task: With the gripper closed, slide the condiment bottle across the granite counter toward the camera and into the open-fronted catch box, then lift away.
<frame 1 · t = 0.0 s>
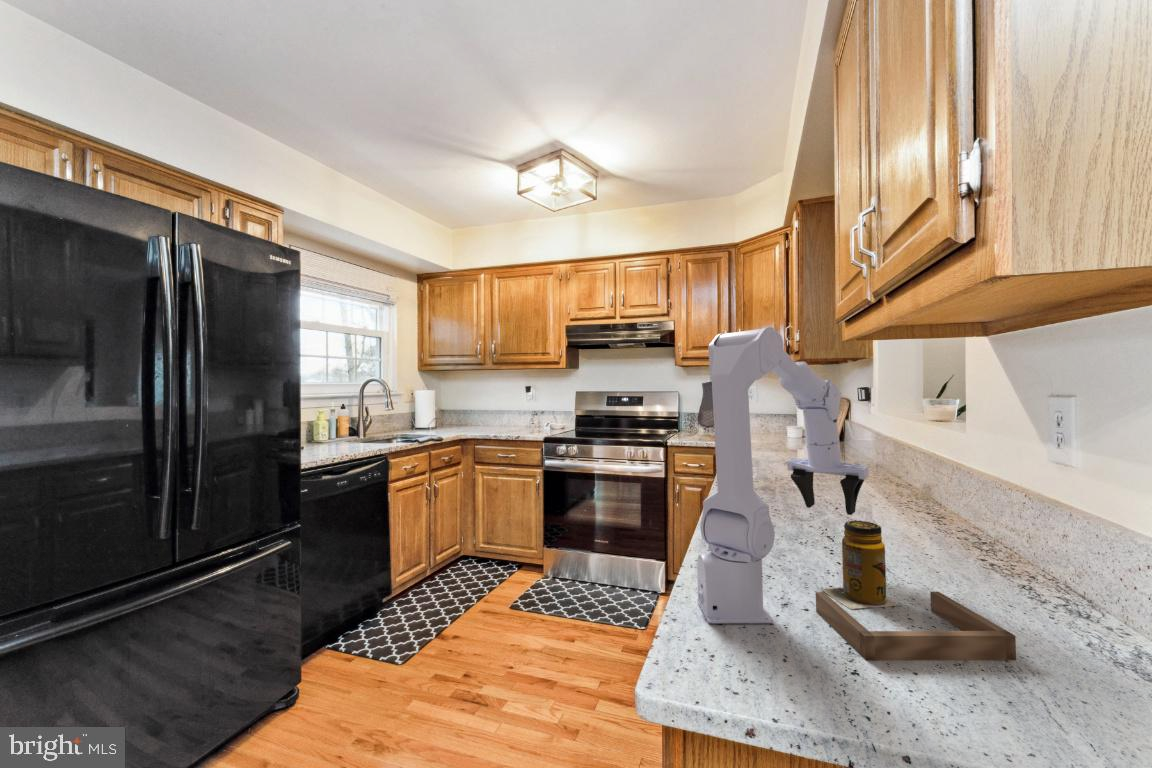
hand: (830, 509, 93), 11 cm above the counter, tool pointing down, fingers open, 7 cm apart
catch box: (905, 633, 66), on the counter
condiment: (859, 599, 78), on the counter
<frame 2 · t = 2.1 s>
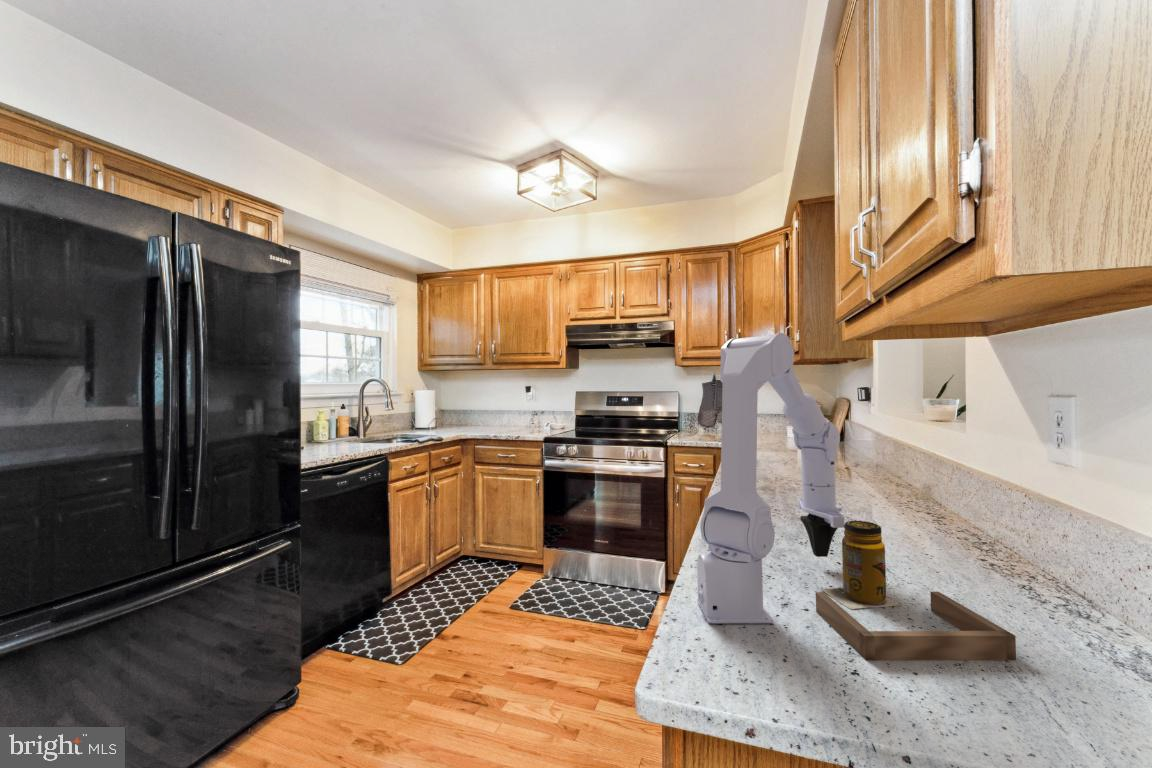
hand: (820, 555, 91), 2 cm above the counter, tool pointing down, fingers closed
nothing on the counter moved.
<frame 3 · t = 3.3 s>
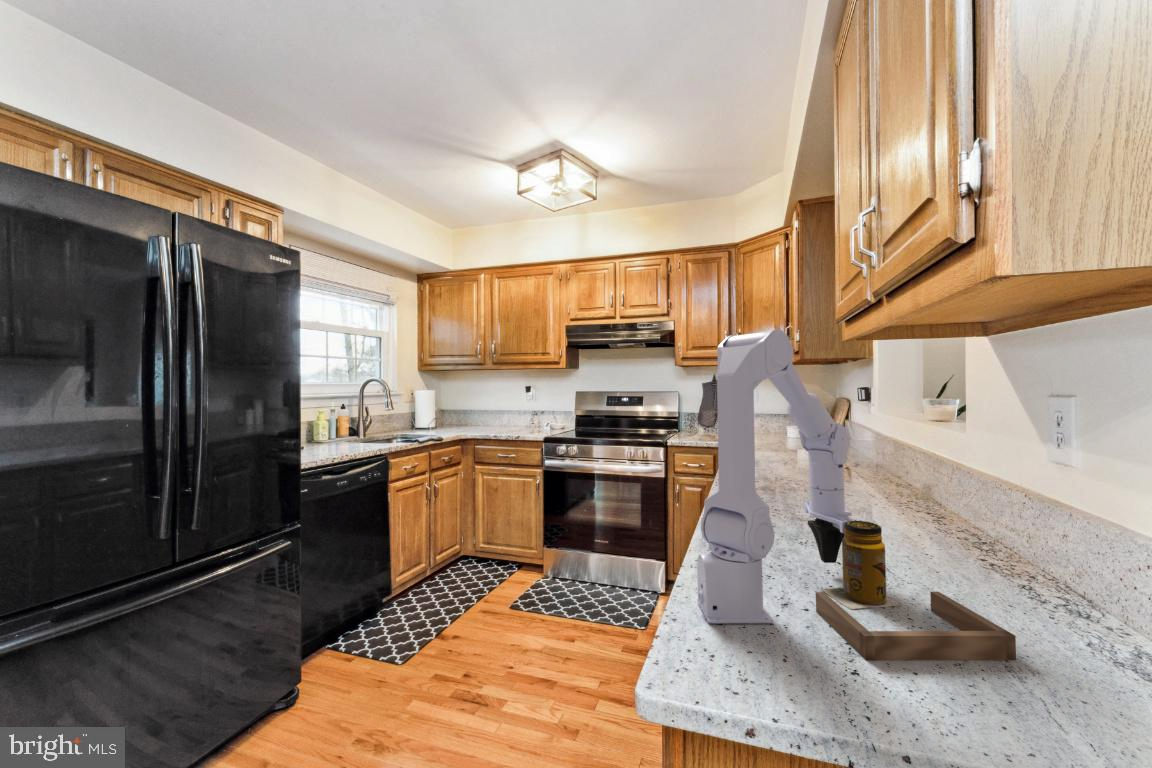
hand: (828, 561, 88), 2 cm above the counter, tool pointing down, fingers closed
nothing on the counter moved.
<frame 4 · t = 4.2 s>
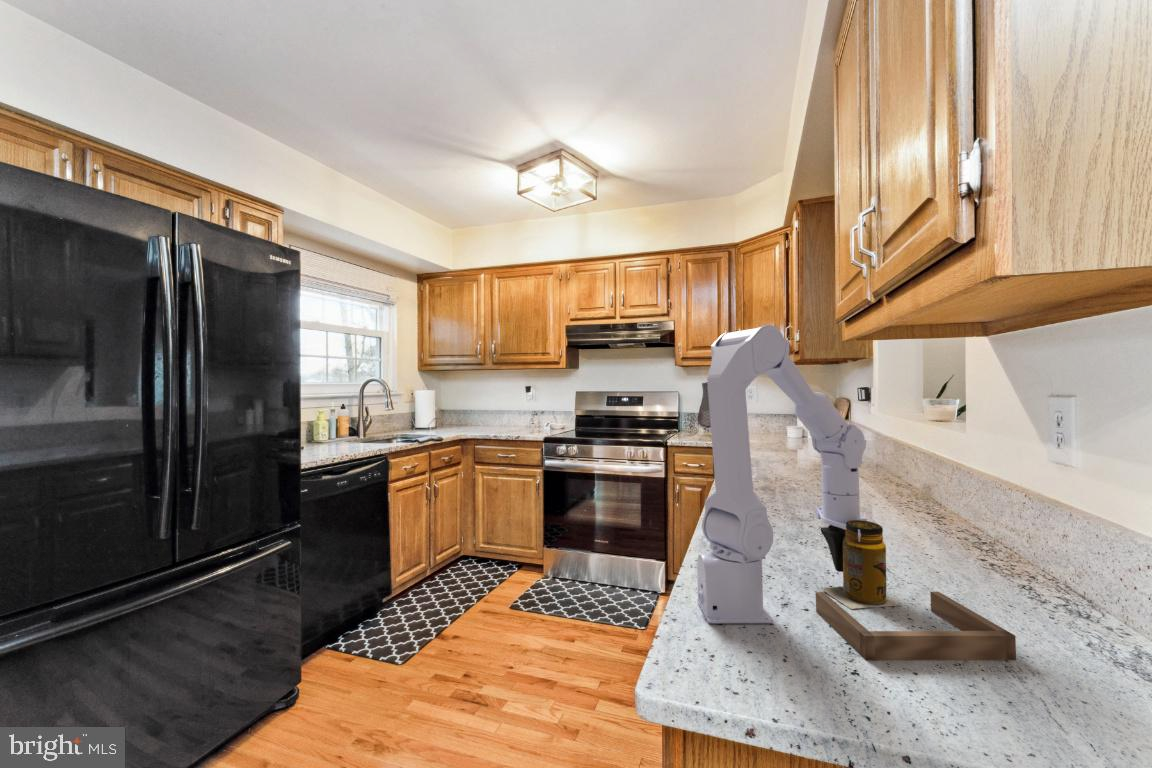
hand: (842, 570, 83), 2 cm above the counter, tool pointing down, fingers closed
condiment: (859, 598, 78), on the counter, touching gripper
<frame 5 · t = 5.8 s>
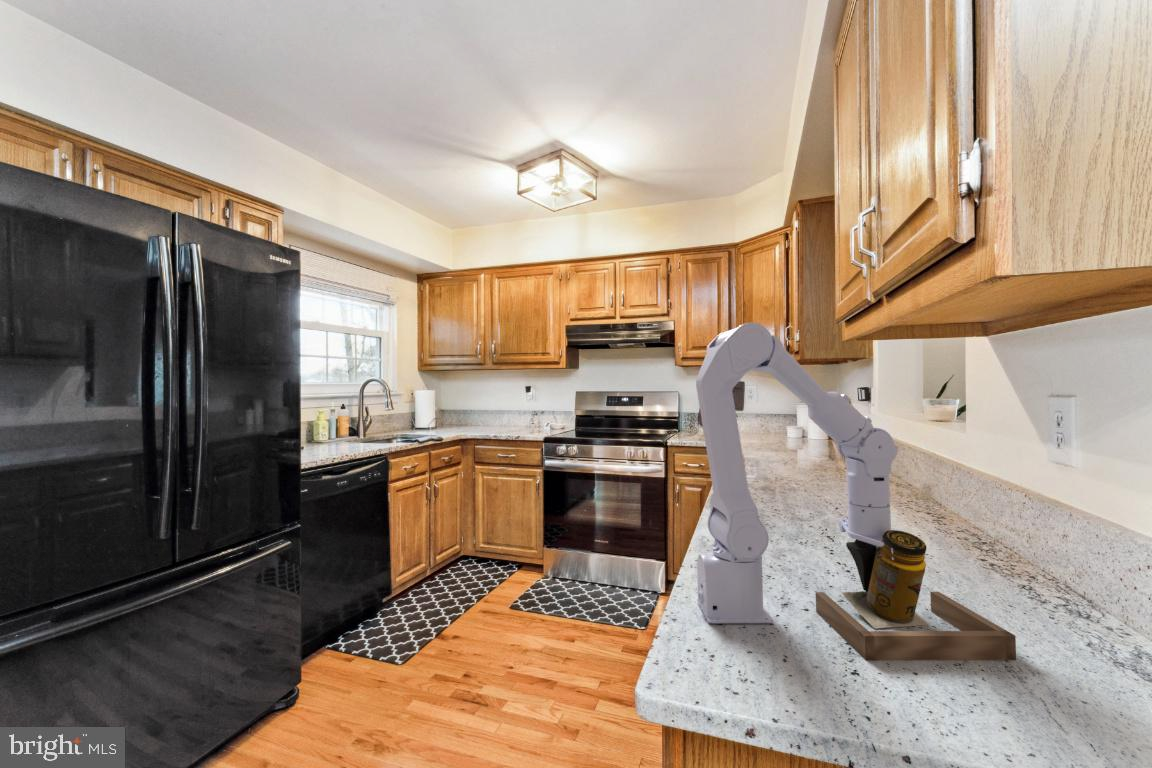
hand: (871, 590, 74), 2 cm above the counter, tool pointing down, fingers closed, pressing on condiment
condiment: (882, 610, 71), point 1 cm above the counter, touching gripper
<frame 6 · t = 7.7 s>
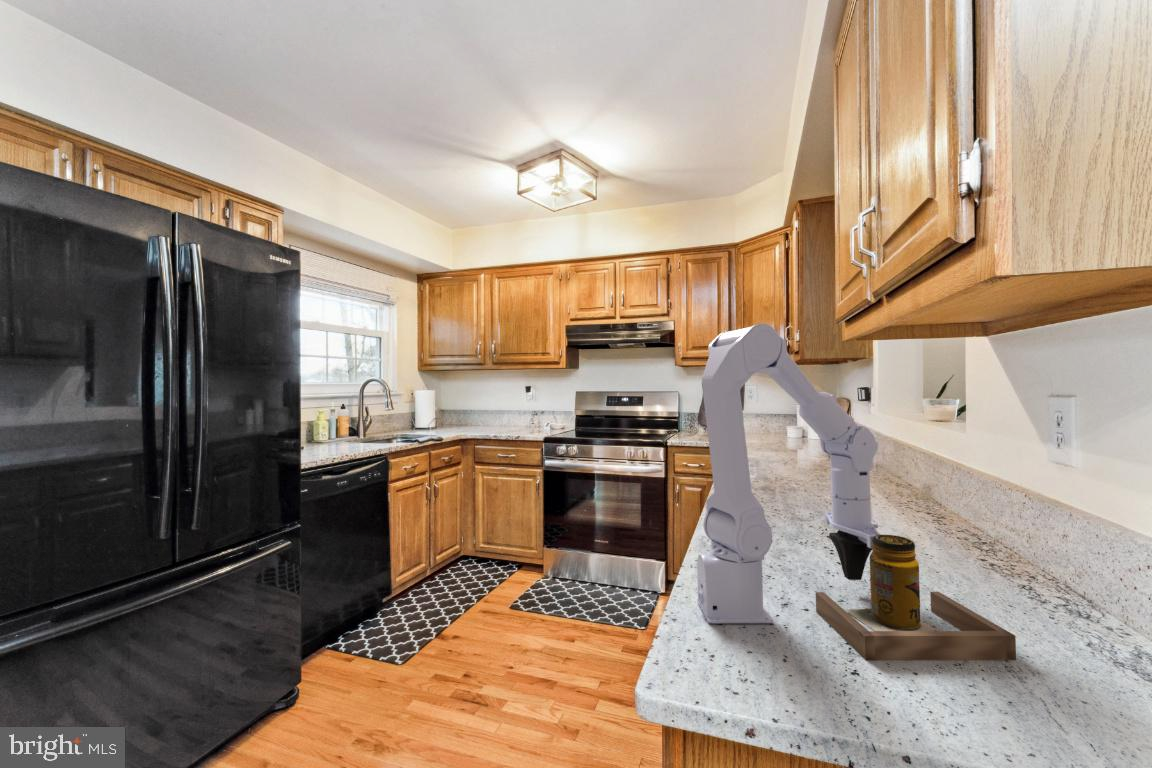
hand: (852, 578, 80), 2 cm above the counter, tool pointing down, fingers closed
condiment: (889, 622, 70), on the counter
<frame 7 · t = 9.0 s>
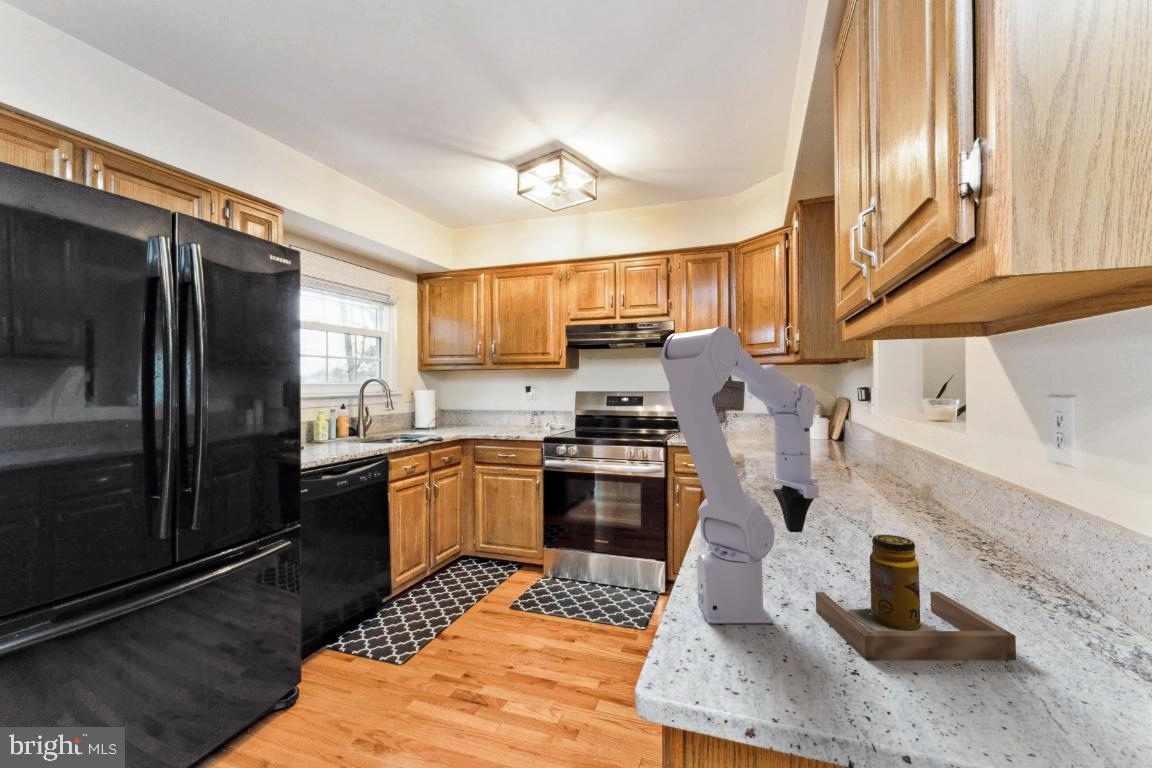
hand: (794, 531, 83), 9 cm above the counter, tool pointing down, fingers closed
nothing on the counter moved.
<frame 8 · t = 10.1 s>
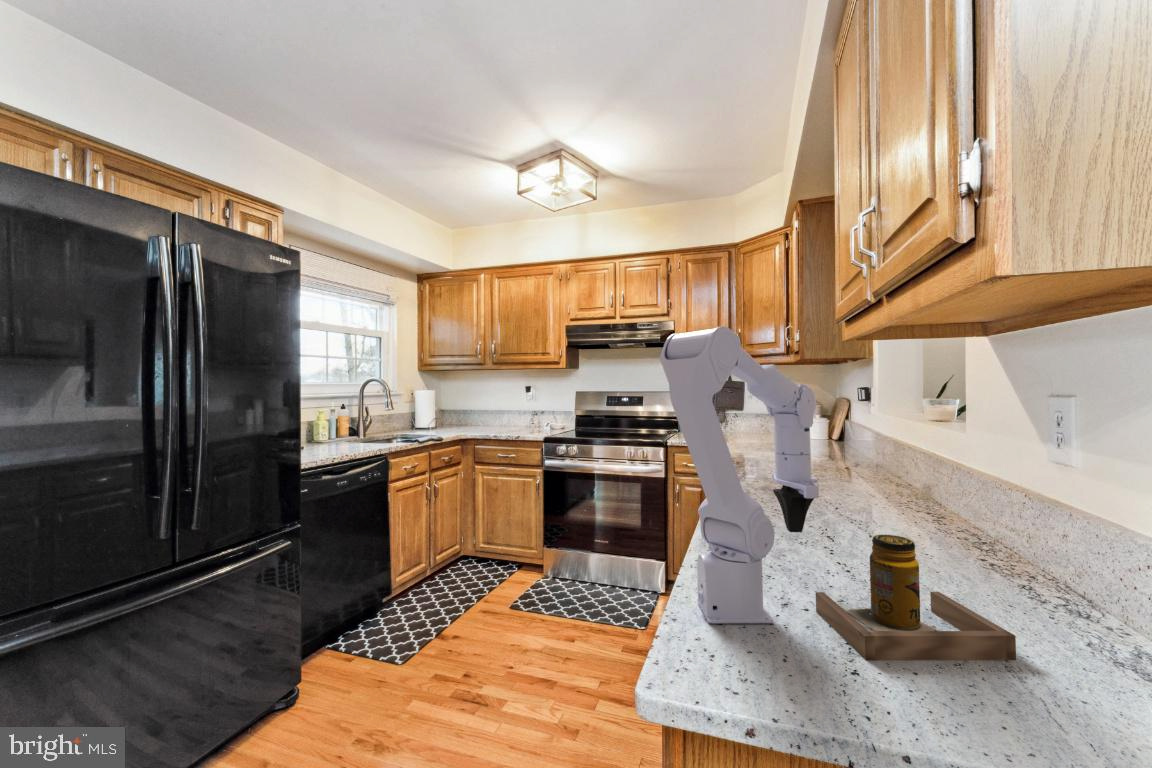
hand: (794, 531, 83), 9 cm above the counter, tool pointing down, fingers closed
nothing on the counter moved.
at the end: condiment inside the target area (3.6 cm from its centre), on the counter; condiment tilted 0° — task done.
